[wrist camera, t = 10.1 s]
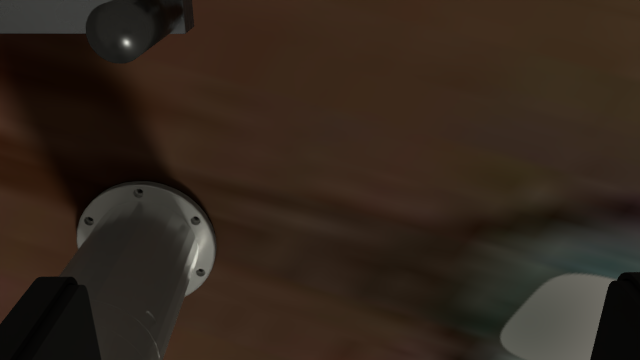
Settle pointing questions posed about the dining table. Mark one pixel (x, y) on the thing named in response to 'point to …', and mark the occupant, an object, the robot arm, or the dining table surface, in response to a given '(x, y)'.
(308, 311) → the dining table surface
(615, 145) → the dining table surface
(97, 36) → the shaft
